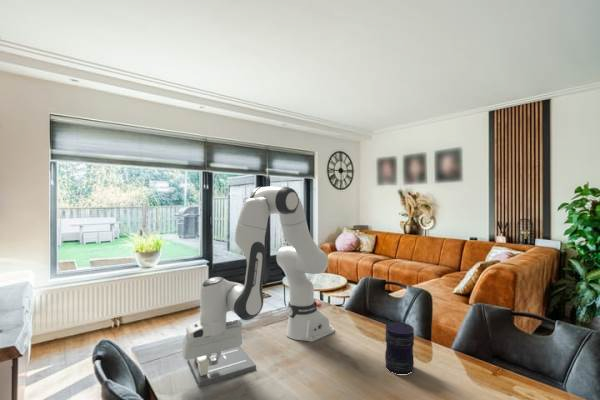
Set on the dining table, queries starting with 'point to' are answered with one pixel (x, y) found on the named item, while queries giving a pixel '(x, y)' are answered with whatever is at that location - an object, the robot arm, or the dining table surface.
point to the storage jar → (399, 347)
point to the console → (224, 366)
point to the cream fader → (203, 365)
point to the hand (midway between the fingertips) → (213, 364)
